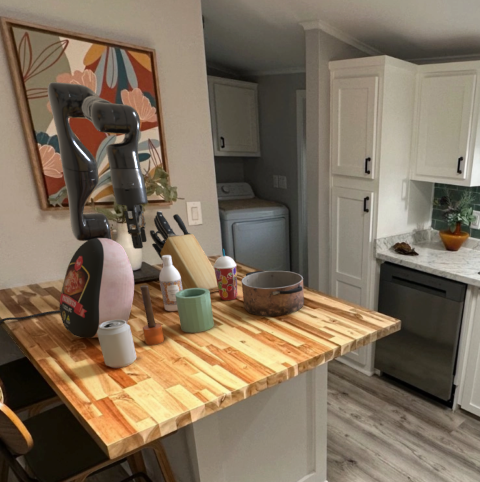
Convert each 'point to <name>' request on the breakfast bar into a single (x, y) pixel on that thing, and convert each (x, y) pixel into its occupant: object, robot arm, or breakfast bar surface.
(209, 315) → the jar
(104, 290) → the packaged food
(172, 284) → the bath foam
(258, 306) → the cooking pot
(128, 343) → the can
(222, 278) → the smoothie
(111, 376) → the breakfast bar surface
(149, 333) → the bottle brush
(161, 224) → the knife block
